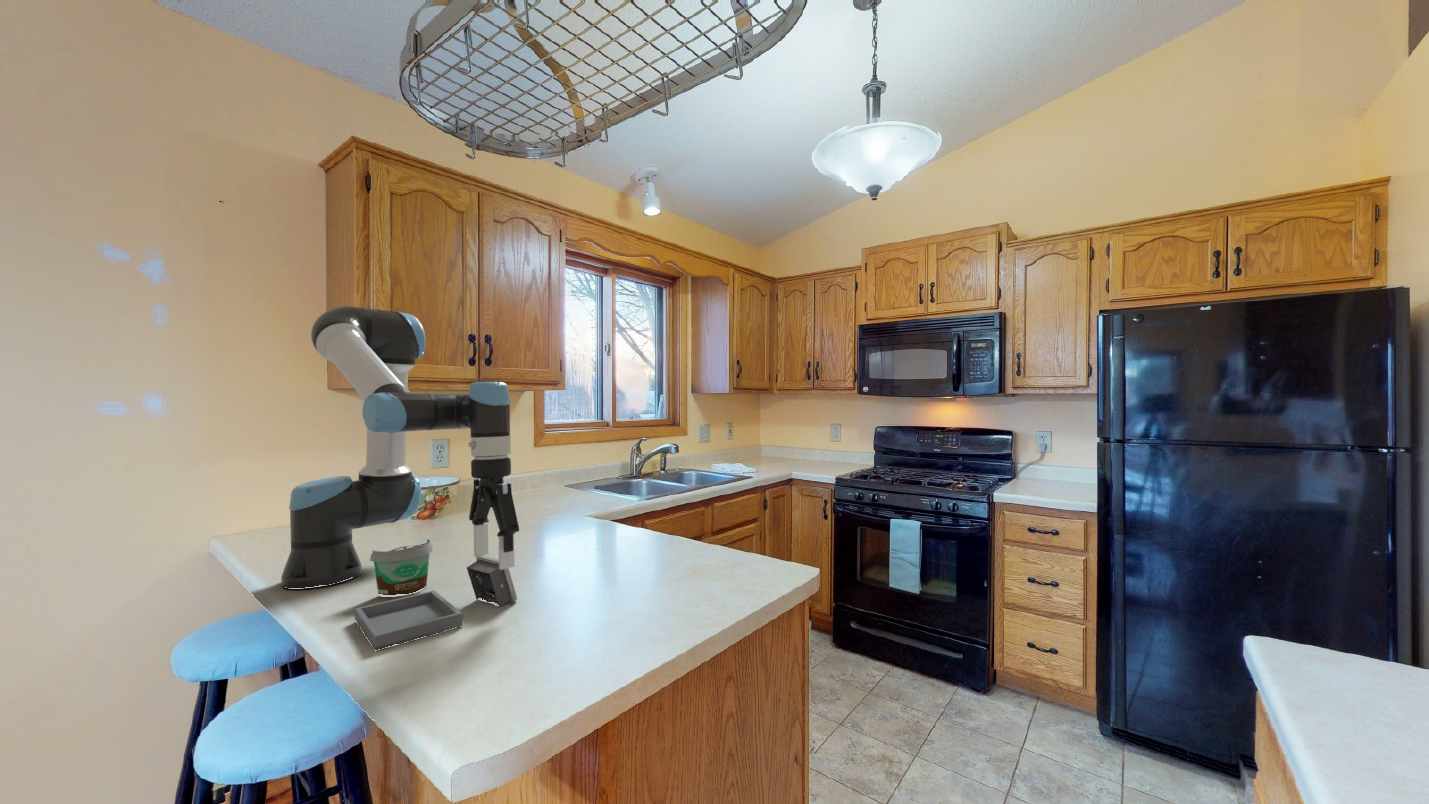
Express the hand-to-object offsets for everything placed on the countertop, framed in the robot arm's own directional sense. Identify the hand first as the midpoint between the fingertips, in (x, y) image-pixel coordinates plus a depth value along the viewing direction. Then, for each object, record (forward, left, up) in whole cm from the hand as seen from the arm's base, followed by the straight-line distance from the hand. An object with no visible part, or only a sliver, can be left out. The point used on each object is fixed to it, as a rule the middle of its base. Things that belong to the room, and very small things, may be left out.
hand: (493, 561), depth 108 cm
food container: (-19, -11, -9) cm, 24 cm away
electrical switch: (0, 0, -9) cm, 9 cm away
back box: (0, -16, -8) cm, 18 cm away
